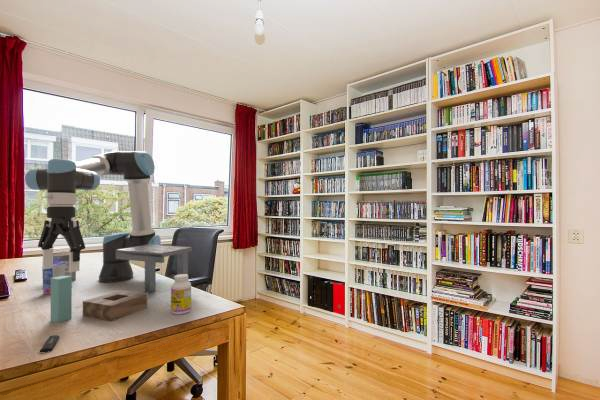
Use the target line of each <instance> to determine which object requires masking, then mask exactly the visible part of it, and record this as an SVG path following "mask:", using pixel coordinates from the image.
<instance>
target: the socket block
mask: <svg viewBox="0 0 600 400" xmlns="http://www.w3.org/2000/svg"><path fill="white" fill-rule="evenodd" d="M147 308H148V293H145V292H144V293H143V292H136V291H135V292H134V291H130V290H129V291H128V290H121V289H119V290H115V291H113V292H110V293H105V294H102V295H99V296H95V297H92V298H88V299H84V300H82V316H83V317H89V318H93V319H99V320H104V321H109V322H113V321H116V320H118V319H121V318H123V317H126V316H129V315H132V314H134V313H136V312H139V311H142V310H144V309H147Z"/></svg>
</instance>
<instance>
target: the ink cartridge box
mask: <svg viewBox="0 0 600 400" xmlns="http://www.w3.org/2000/svg"><path fill="white" fill-rule="evenodd" d="M55 259H56V260H58V261H53V268H50V269H43V265H42V267H41V269H42V294H43V295H44V294H45V295H51V278H54V277H59V276H71V277H72V272H71V273H70V272H69V262H65V261H63V262H60V260H59V258H53V260H55Z"/></svg>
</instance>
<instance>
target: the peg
mask: <svg viewBox="0 0 600 400" xmlns="http://www.w3.org/2000/svg"><path fill="white" fill-rule="evenodd" d="M72 289H73V281H72V277H71V276H59V277H54V278H51V294H50V322H54V323H58V324H59V323H62V322H64V321H68V320H70V319H72V313H73V312H72V311H73V310H72V304H73V303H72V302H73V301H72V299H73V298H72V294H73V293H72Z"/></svg>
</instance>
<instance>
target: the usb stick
mask: <svg viewBox="0 0 600 400" xmlns="http://www.w3.org/2000/svg"><path fill="white" fill-rule="evenodd" d="M59 339H60V335H57V334H52V335H49V337H48V338H47V340H46V341H45V343H44V344H43V345H42V347H41V348H40V350H39V353H40V352H45V353H49V352H48V351H50V352H52V350H53V349H54V348H55V346H56V344H57V342H58V341H59Z"/></svg>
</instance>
